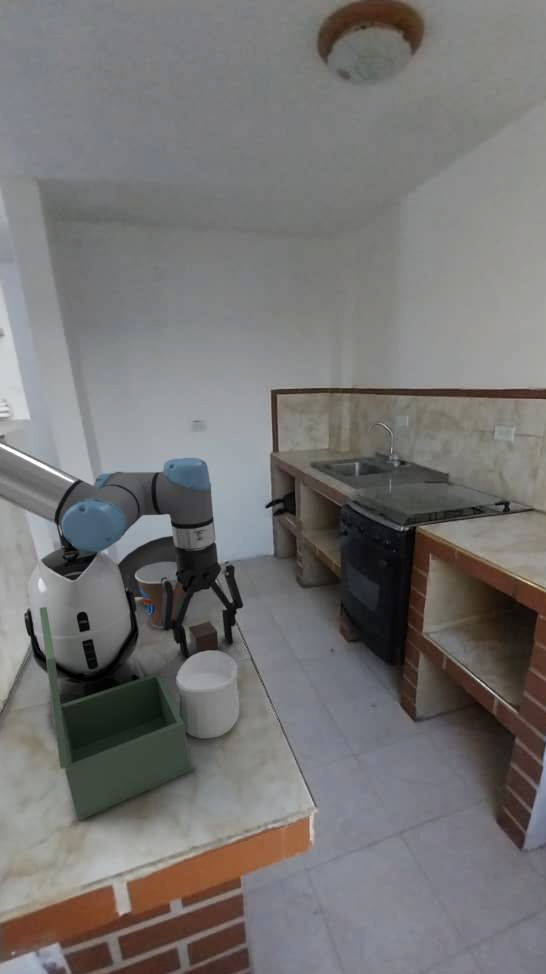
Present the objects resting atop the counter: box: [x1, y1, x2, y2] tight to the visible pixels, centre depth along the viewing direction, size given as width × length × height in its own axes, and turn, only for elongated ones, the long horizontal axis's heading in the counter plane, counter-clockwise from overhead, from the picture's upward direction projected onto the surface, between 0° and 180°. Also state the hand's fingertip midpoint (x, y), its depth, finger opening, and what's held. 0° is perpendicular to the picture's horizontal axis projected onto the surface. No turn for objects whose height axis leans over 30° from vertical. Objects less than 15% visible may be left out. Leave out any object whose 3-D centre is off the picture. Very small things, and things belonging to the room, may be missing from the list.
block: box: [188, 620, 220, 654], centre depth 92 cm, size 4×4×4 cm
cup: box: [175, 650, 240, 739], centre depth 73 cm, size 10×10×10 cm
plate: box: [117, 535, 176, 598], centre depth 106 cm, size 21×21×2 cm
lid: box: [40, 607, 68, 769], centre depth 57 cm, size 15×13×1 cm
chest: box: [61, 672, 191, 821], centre depth 65 cm, size 15×13×9 cm
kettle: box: [23, 524, 145, 726], centre depth 74 cm, size 24×16×32 cm, turn 29°
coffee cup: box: [135, 562, 182, 629], centre depth 100 cm, size 10×10×12 cm
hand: (207, 647), depth 92 cm, fingers open, 9 cm apart
